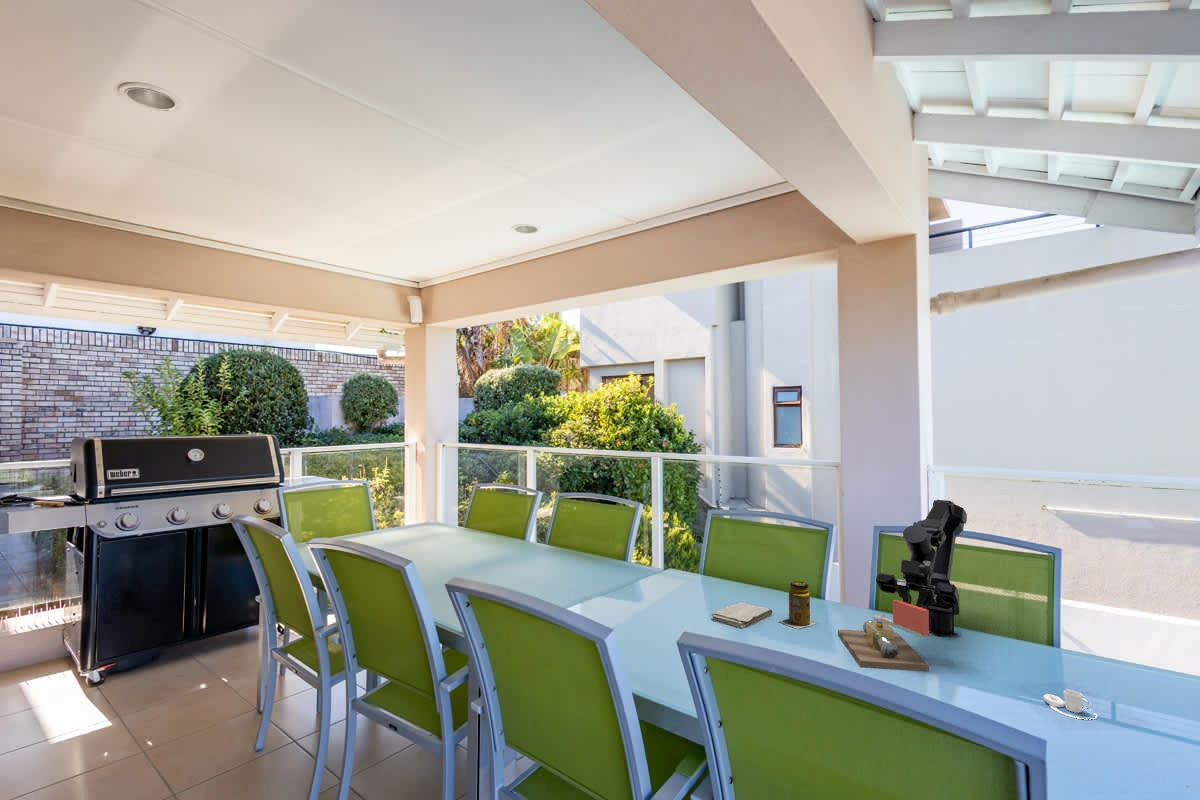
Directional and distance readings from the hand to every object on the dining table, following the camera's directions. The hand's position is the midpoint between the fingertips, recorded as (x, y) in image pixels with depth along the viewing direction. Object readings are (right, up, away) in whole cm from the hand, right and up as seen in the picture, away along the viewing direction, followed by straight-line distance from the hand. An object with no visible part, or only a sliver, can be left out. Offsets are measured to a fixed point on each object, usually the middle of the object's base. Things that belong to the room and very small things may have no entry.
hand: (910, 617), depth 148 cm
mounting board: (-4, -12, +7) cm, 14 cm away
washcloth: (-35, -13, +33) cm, 50 cm away
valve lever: (-2, -3, +1) cm, 4 cm away
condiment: (-19, -13, +28) cm, 37 cm away
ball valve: (-4, -10, +7) cm, 13 cm away
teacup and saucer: (+23, -11, -22) cm, 34 cm away
